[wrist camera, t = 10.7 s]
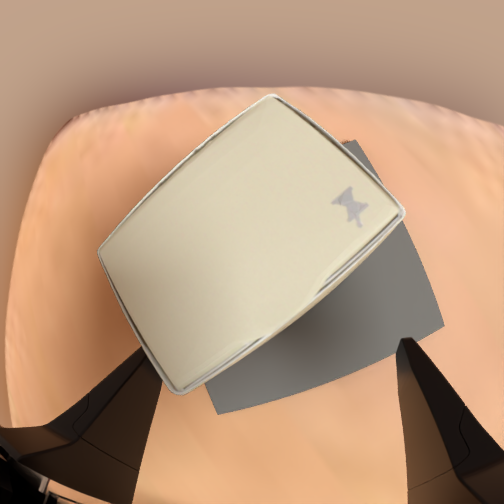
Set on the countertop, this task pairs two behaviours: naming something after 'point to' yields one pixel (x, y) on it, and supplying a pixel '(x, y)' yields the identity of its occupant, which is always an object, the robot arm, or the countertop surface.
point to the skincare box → (243, 240)
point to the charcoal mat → (339, 327)
